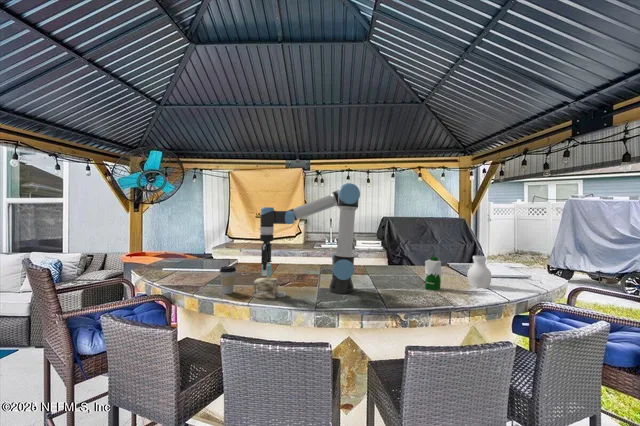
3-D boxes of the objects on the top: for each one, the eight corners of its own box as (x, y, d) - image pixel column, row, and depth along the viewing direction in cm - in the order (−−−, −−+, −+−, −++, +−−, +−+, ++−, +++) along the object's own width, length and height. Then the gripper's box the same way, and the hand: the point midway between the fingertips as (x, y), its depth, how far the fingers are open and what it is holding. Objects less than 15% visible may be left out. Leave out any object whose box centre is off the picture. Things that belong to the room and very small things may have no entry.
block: (271, 274, 170) (272, 264, 170) (269, 276, 165) (269, 265, 165) (263, 273, 171) (263, 263, 171) (261, 275, 166) (261, 265, 166)
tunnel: (278, 293, 172) (278, 278, 172) (274, 298, 163) (274, 282, 163) (258, 293, 173) (258, 277, 173) (253, 297, 164) (253, 281, 164)
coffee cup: (231, 295, 167) (231, 269, 167) (216, 294, 169) (216, 268, 169) (238, 291, 177) (239, 266, 177) (224, 290, 178) (224, 265, 178)
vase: (488, 284, 199) (489, 255, 199) (494, 290, 185) (494, 258, 185) (465, 283, 203) (465, 254, 203) (469, 288, 190) (469, 257, 189)
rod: (285, 296, 168) (285, 291, 168) (283, 297, 166) (284, 293, 166) (254, 294, 172) (254, 289, 172) (252, 295, 169) (252, 291, 169)
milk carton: (442, 288, 187) (442, 257, 187) (437, 291, 180) (437, 259, 180) (428, 286, 193) (428, 256, 193) (423, 288, 186) (423, 257, 186)
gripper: (264, 232, 177) (264, 271, 177) (255, 235, 159) (255, 277, 159) (276, 233, 177) (276, 271, 177) (269, 235, 159) (268, 278, 159)
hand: (266, 274), depth 168 cm, fingers closed on block, 5 cm apart
